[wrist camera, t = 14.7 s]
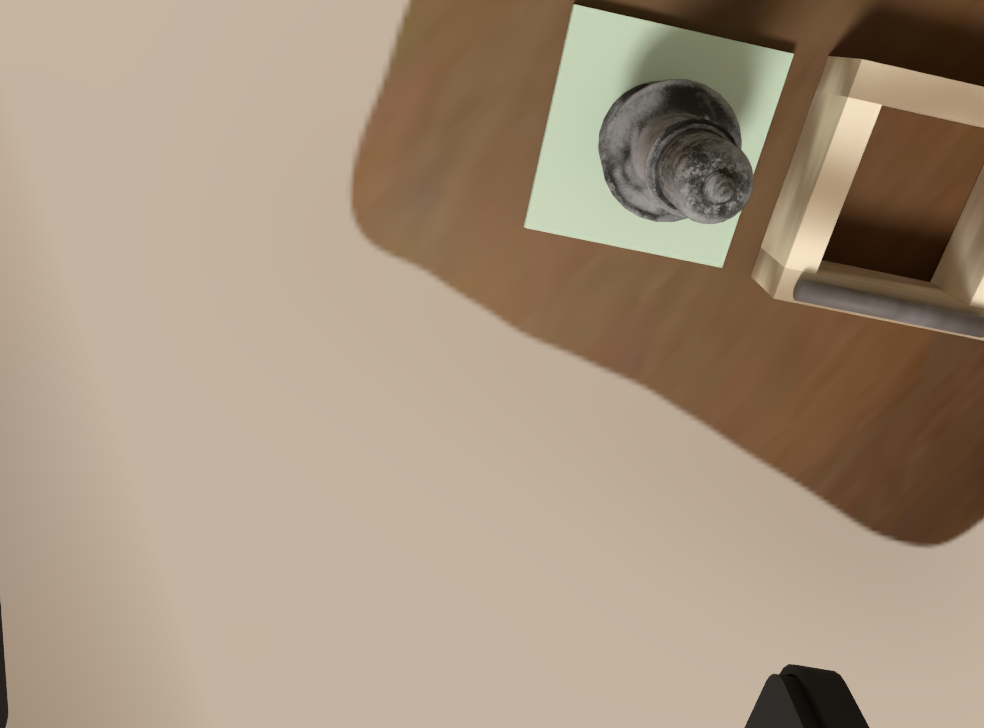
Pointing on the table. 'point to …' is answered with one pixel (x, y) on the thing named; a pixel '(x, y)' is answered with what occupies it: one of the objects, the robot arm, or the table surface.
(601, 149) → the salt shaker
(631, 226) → the mat
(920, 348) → the table surface
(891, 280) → the holder
